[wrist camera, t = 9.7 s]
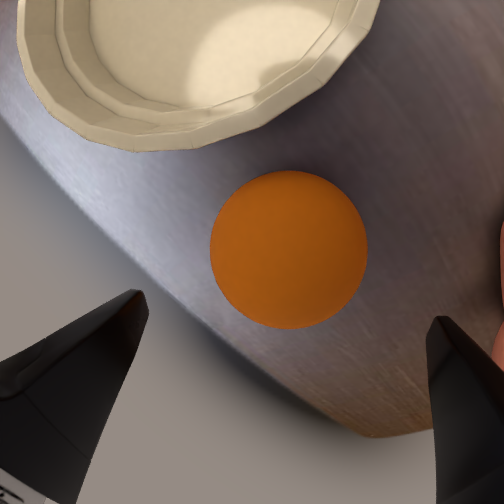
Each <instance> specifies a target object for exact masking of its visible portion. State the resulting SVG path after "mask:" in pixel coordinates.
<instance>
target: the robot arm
mask: <svg viewBox="0 0 504 504" xmlns="http://www.w3.org/2000/svg"><path fill="white" fill-rule="evenodd" d="M148 316H149V309H148V306H147V302H146V299H145V295H144V293H143V291H141V290H136V289H130V290H128V291H126V292H124V293H122V294H121V295H119V296H117V297H115V298H114V299H112V300H110V301H108V302H106V303H105V304H103V305H101V306H99V307H98V308H96V309H94V310H92V311H91V312H89V313H87V314H85V315H84V316H82V317H80V318H78V319H77V320H75V321H73V322H71V323H70V324H68V325H66V326H64V327H63V328H61V329H59V330H58V331H56V332H54V333H53V334H51V335H49V336H47V337H46V339H45V338H44V339H42V340H41V341H39V342H37V343H35V344H34V345H32V346H30V347H28V348H27V349H25V350H23V351H21V352H19V353H17V354H15V355H13V356H11V357H9V358H7V359H6V360H3V361H1V362H0V504H44V502H45V500H46V497H47V498H49V499H51V500H53V501H55V502H57V503H59V504H76V501H77V498H78V495H79V493H80V490H81V487H82V484H83V482H84V479H85V476H86V473H87V471H88V468H89V465H90V463H91V459H92V457H93V454H94V452H95V449H96V447H97V444H98V442H99V439H100V437H101V434H102V431H103V429H104V426H105V424H106V422H107V419H108V417H109V414H110V412H111V410H112V407H113V405H114V403H115V400H116V398H117V395H118V393H119V391H120V389H121V386H122V384H123V381H124V380H125V377H126V375H127V372H128V371H129V368H130V366H131V364H132V362H133V359H134V357H135V354H136V352H137V349H138V346H139V343H140V340H141V337H142V334H143V331H144V328H145V325H146V322H147V319H148ZM426 353H427V369H428V386H429V394H430V402H431V410H432V419H433V430H434V441H435V457H436V504H504V371H503V370H502V369H501V368H500V367H499V366H498V365H497V364H496V363H495V362H494V361H493V360H492V359H491V358H490V357H489V356H488V355H487V354H486V352H485V351H484V350H483V349H482V348H481V347H480V346H479V345H478V344H477V343H476V342H475V341H473V340H472V339H471V338H470V337H469V336H468V335H467V334H466V333H465V332H464V331H463V330H462V329H461V328H460V327H459V326H458V325H457V324H456V323H455V322H454V321H453V320H452V319H451V318H450V317H448V316H436V317H435V318H434V320H433V322H432V324H431V327H430V329H429V331H428V333H427V336H426Z"/></svg>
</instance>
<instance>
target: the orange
mask: <svg viewBox="0 0 504 504" xmlns="http://www.w3.org/2000/svg"><path fill="white" fill-rule="evenodd" d="M367 254H368V245H367V237H366V232H365V227H364V225H363V222H362V219H361V217H360V215H359V213H358V211H357V209H356V207H355V206H354V205H353V203H352V202H351V201H350V199H349V198H348V197H347V196H346V195H345V194H344V193H343V192H342V191H341V190H340V189H339V188H337V187H336V186H335V185H333V184H332V183H330V182H329V181H327V180H325V179H323V178H321V177H318V176H316V175H313V174H310V173H306V172H300V171H277V172H271V173H268V174H264V175H261V176H259V177H257V178H255V179H253V180H251V181H249V182H247V183H246V184H244V185H242V186H241V187H240V188H239V189H238V190H236V191H235V192H234V193H233V194H232V195H231V197H230V198H229V199H228V200H227V201H226V202H225V204H224V205H223V207H222V208H221V210H220V212H219V214H218V216H217V218H216V220H215V223H214V226H213V230H212V234H211V240H210V261H211V266H212V270H213V273H214V276H215V279H216V282H217V284H218V286H219V288H220V290H221V291H222V293H223V294H224V296H225V297H226V299H227V300H228V301H229V302H230V303H231V304H232V305H233V306H234V307H235V308H236V309H237V310H238V311H239V312H241V313H242V314H243V315H245V316H246V317H248V318H250V319H251V320H253V321H255V322H257V323H260V324H262V325H265V326H269V327H273V328H279V329H298V328H304V327H308V326H312V325H315V324H318V323H320V322H322V321H324V320H326V319H328V318H330V317H331V316H333V315H334V314H336V313H337V312H338V311H339V310H341V309H342V308H343V307H344V306H345V305H346V304H347V303H348V302H349V300H350V299H351V298H352V296H353V295H354V294H355V292H356V290H357V289H358V287H359V285H360V283H361V280H362V278H363V275H364V272H365V268H366V263H367Z"/></svg>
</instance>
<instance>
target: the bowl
mask: <svg viewBox="0 0 504 504" xmlns="http://www.w3.org/2000/svg"><path fill="white" fill-rule="evenodd" d="M380 1H381V0H19V1H18V12H17V47H18V51H19V55H20V59H21V62H22V66H23V69H24V73H25V76H26V80H27V81H28V83H29V85H30V86H31V88H32V89H33V91H34V92H35V94H36V95H37V97H38V98H39V100H40V101H41V103H42V104H43V105H44V107H45V108H46V110H47V111H48V113H49V114H51V116H53V117H54V118H55V119H57V120H58V121H60V122H61V123H63V124H64V125H65V126H67V127H68V128H70V129H71V130H73V131H74V132H76V133H77V134H78V135H80V136H81V137H83V138H84V139H86V140H88V141H92V142H96V143H100V144H104V145H107V146H111V147H115V148H119V149H122V150H126V151H130V152H133V153H134V152H137V153H138V152H152V151H169V150H193V149H198V148H200V147H203V146H206V145H209V144H212V143H214V142H217V141H220V140H223V139H226V138H229V137H232V136H235V135H238V134H241V133H244V132H247V131H250V130H254V129H257V128H260V127H261V126H264V125H265V124H267V123H268V122H269V121H271V120H272V119H274V118H275V117H277V116H278V115H280V114H281V113H283V112H284V111H286V110H287V109H289V108H290V107H292V106H293V105H295V104H296V103H298V102H299V101H301V100H303V99H304V98H306V97H307V96H309V95H310V94H312V93H314V92H315V91H317V90H318V89H320V88H322V87H323V85H325V84H326V83H327V82H328V81H329V79H330V78H331V77H332V76H333V75H334V73H335V72H336V71H337V70H338V69H339V67H340V66H341V65H342V64H343V63H344V62H345V60H346V59H347V58H348V57H349V56H350V54H351V53H352V52H353V51H354V50H355V49H356V47H357V46H358V45H359V44H360V43H361V42H362V41H363V39H364V38H365V37H366V36H367V35H368V33H369V31H370V30H371V27H372V24H373V21H374V18H375V16H376V13H377V10H378V7H379V4H380Z"/></svg>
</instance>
